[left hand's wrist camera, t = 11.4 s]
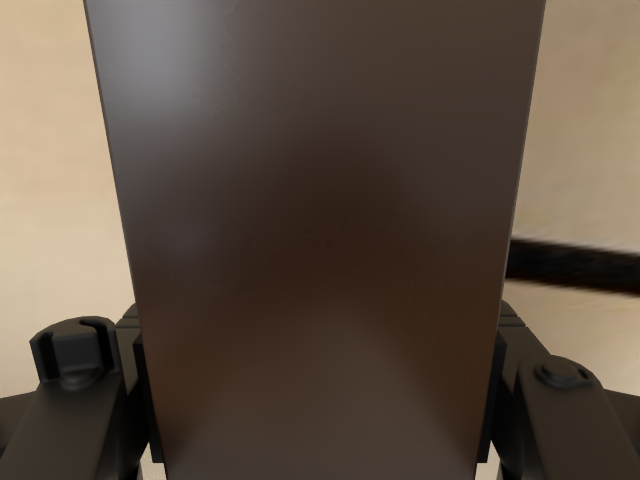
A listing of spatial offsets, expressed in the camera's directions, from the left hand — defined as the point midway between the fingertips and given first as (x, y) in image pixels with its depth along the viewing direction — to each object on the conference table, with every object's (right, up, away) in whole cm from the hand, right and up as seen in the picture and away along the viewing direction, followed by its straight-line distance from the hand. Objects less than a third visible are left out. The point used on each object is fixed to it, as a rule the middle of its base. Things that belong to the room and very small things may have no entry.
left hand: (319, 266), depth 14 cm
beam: (0, +10, -3) cm, 11 cm away
